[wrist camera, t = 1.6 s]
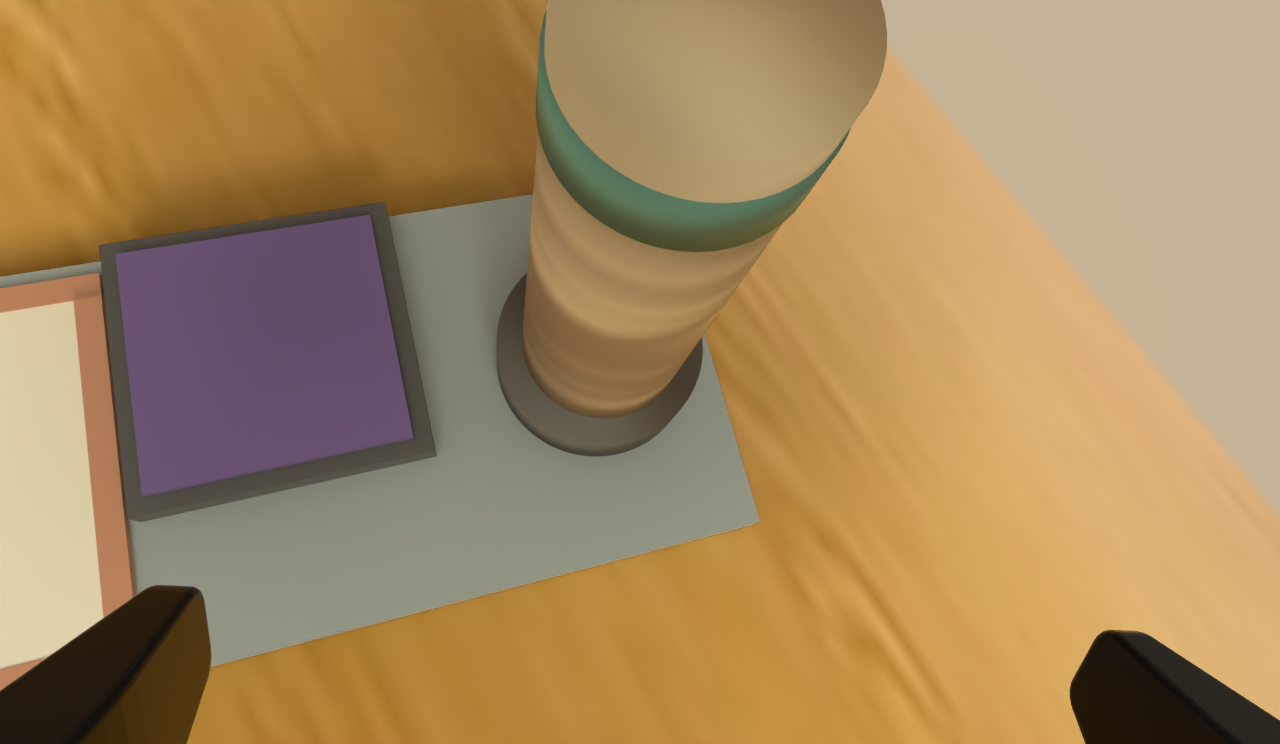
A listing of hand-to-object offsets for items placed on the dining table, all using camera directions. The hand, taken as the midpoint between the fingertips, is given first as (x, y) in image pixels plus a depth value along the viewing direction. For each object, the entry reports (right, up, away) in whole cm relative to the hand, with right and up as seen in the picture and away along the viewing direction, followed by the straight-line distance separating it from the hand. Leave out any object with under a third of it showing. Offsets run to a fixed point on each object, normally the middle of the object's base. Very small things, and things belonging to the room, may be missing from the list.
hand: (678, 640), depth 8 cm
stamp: (-2, +3, +13) cm, 14 cm away
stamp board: (-9, +1, +12) cm, 15 cm away
